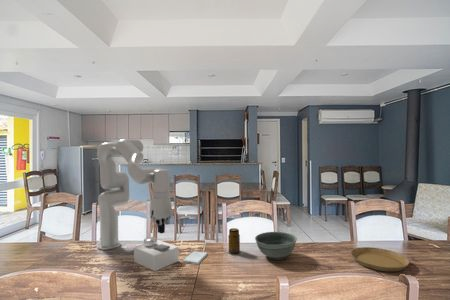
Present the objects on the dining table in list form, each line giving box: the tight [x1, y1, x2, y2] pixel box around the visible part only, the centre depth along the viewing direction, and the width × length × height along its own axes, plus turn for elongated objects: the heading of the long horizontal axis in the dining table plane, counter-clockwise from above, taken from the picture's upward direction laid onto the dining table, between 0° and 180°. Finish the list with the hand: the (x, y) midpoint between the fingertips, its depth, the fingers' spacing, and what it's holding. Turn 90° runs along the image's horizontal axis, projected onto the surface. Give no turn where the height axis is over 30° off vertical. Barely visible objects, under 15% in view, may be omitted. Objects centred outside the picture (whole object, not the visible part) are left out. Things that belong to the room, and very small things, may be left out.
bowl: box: [254, 231, 297, 261], centre depth 133 cm, size 21×21×10 cm
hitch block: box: [133, 239, 179, 272], centre depth 129 cm, size 17×14×7 cm
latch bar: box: [154, 244, 170, 251], centre depth 126 cm, size 7×5×1 cm
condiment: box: [225, 227, 246, 257], centre depth 139 cm, size 7×8×12 cm
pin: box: [143, 236, 158, 248], centre depth 132 cm, size 6×6×9 cm
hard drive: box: [182, 250, 208, 265], centre depth 132 cm, size 2×8×12 cm
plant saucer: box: [350, 246, 410, 273], centre depth 125 cm, size 24×24×3 cm
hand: (161, 232), depth 126 cm, fingers closed
